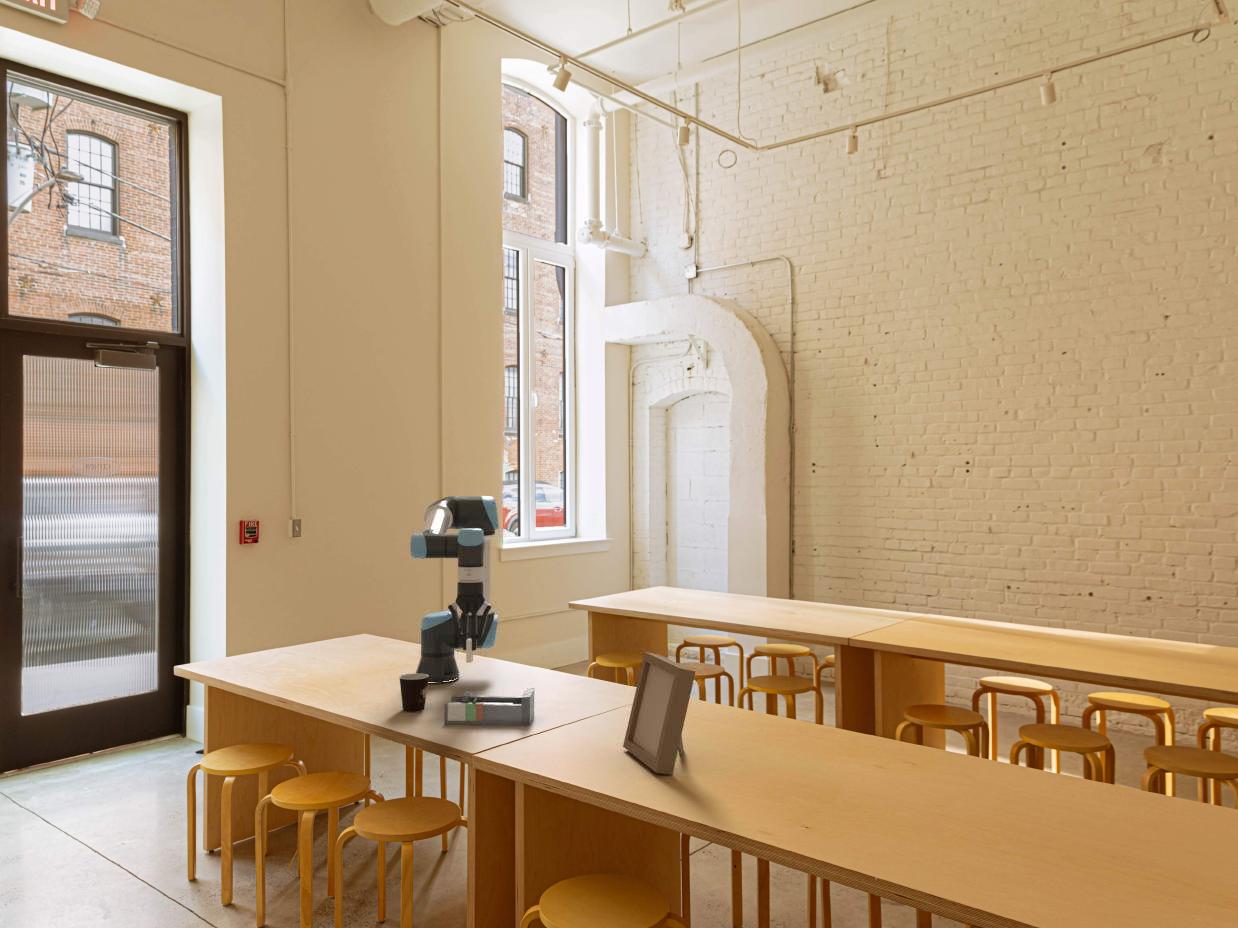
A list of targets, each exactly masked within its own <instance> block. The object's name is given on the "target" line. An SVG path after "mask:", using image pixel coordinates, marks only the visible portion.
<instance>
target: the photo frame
mask: <svg viewBox="0 0 1238 928" xmlns="http://www.w3.org/2000/svg"><path fill="white" fill-rule="evenodd" d="M641 663H642V664H641V667H640V671H639V675H638V681H637V684H636V688H635V691H634V692H635V693H634V698H633V700H632V701H633V702H632V706H631V710H630V714H629V718H628V723H627V727H626V731H625V735H624V740H623V744H622V747H623V748H625V749H626V750H627V751H628V752H629V753H631V754H632V755H633V756H634V757H636V758H637V759H638V760H639V761H641V763H644V765H645V766H646V767H649V769H650V770H652V771H654V772H655V773H656V774H663V775H669V776H670V775H671V776H673V775H674V770H675V765H676V761H677V756H678V755H679V756H682V755H683V753H684V743H683V736H682V735H683V734H682V733H683V728H684V725H685V721H686V716H687V713H688V707H689V703H690V699H691V698H690V697H691V694H692V689H693V685H694V682H695V681H694V680H695V675H696V673H697V672H696V671H695V670H694V669H692V668H688V667H687V666H685V665H682V664H680V663H678V662H676V661H673V660H672V659H669V658H667V657H665V656H663V655H660V654H656V653H653V652H647V651H644V653H643V659H642V662H641Z"/></svg>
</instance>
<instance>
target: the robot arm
mask: <svg viewBox="0 0 1238 928" xmlns="http://www.w3.org/2000/svg"><path fill="white" fill-rule="evenodd" d="M497 506H498V505H497V501H496V499H495V497H493V496H488V495H487V496H486V495H450V496H445V497H442V498H440V499H438V500H436V501H434V502H433V503H431V504H430V505H429V506H428V507H427V508H426V510H425V512H424V516H423V520H424V524H423V527H422V529H421V530H422V531H421V532H419V533H413V534H412V535H411V537H410V549H409V550H410V555H411V557H412V558H413V559H423V560H424V559H457V580H458V582H457V584H456V585H457V588H456V589H457V592H456V593H457V594H456V599H455V601H454V602H453V603H450V604H449V605H448V606H447V608H448V610H444V611H443V610H442V611H437V612H432V613H429V614H426V615H424V616H423V617H422V618H421V625H420V631H421V633H420V640H421V641H420V659H419V661H418V665H417V668H416V670H415V673H421V674H427V675H428V676H429V677H428V682H443V681H449V680H454V679H456V678H459V679H460V670H459V667H458V664H457V660H456V658H455V657H456V656H455V650H458V649H459V650H463V651H465V657H466V658H465V662H466V663H472V662H473V661H474V652H475V651H476V650H477V649H480V650H482V649H491V648H493V647H494V646H495V643H496V637H497V630H498V624H499V623H498V621H499V615H498V614H496V613H495V609H494V608H493V604H491V541H492V540H491V539H492V538H493V537H494V536H495V535H496V530H499V529H500V523H499V515H498V514H499V513H498V507H497ZM448 530H458V532H457V533H448V532H447V531H448ZM458 608H459V609H460V615H459V613H458Z"/></svg>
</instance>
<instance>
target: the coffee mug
mask: <svg viewBox="0 0 1238 928" xmlns="http://www.w3.org/2000/svg"><path fill="white" fill-rule="evenodd" d="M428 677H429V676H428V675H427V674H421V673H416V672H415V673H406V674H402V675H400V676H399V686H400V694H401V695H400V696H401V697H400V698H401V704H402V711H403V712H405V711H406V713H418V711H419V712H423V711H425V708H426V701H427V700H426V699H427V690H428V684H429V683H428ZM422 710H423V711H422Z"/></svg>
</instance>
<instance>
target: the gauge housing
mask: <svg viewBox="0 0 1238 928" xmlns="http://www.w3.org/2000/svg"><path fill="white" fill-rule="evenodd" d="M462 696H463V695H451V699H450V700H451V701H450V702H449V701H448V703H445V704H444V713H443V714H444V717H443V719H444V721H443V723H444V724H443V726H444V725H447V726H449V725H450V726H453V725H454V726H455V725H456V726H457V725H458V726H519V725H526V726H527V725H529V726H531V724H532V722H533V719H534V716H535V688H534V687H533V688H532V687H527V688H525V690H524V692H523V693H522V695H521V696H518V695H516V696H514V695H508V696H507V695H506V696H505V695H501V696H499V695H498V696H497V695H473V700H474V699H475V698H478V703H475V704H472V703H462ZM484 703H513V704H484ZM531 721H532V722H531ZM526 726H525V727H526ZM529 726H528V727H529Z"/></svg>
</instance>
